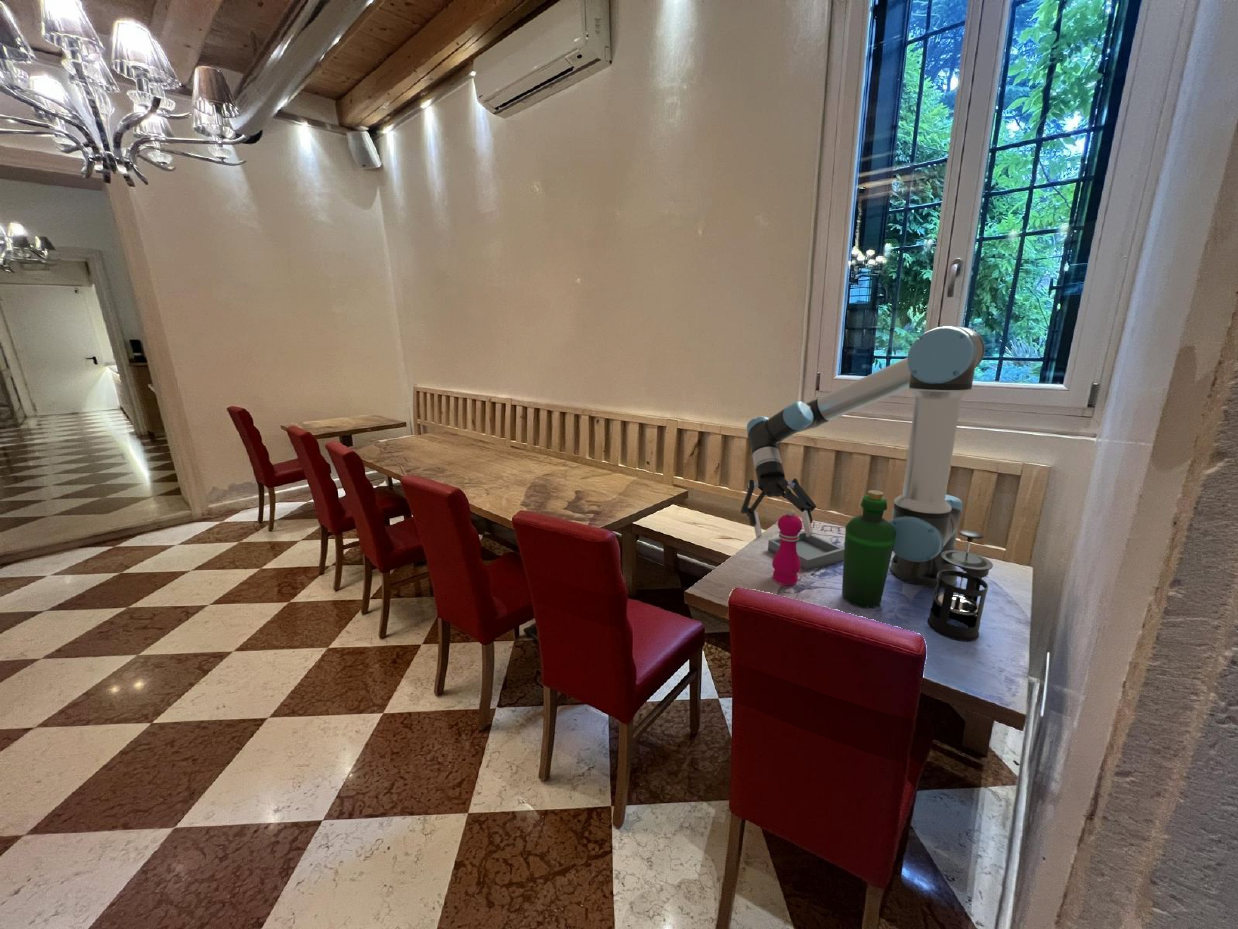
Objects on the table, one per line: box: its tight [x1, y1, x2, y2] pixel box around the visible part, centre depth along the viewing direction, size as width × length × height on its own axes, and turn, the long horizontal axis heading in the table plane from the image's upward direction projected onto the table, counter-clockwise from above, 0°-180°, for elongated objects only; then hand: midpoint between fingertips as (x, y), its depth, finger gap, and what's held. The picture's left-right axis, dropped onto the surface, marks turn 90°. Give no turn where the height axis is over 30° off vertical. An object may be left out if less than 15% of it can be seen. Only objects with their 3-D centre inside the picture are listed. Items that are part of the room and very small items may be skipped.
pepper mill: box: [771, 509, 803, 586], centre depth 121 cm, size 7×7×20 cm
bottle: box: [841, 489, 896, 609], centre depth 110 cm, size 11×11×28 cm
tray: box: [767, 530, 845, 572], centre depth 137 cm, size 15×15×4 cm
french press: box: [926, 529, 994, 642], centre depth 99 cm, size 12×9×23 cm
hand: (784, 536), depth 122 cm, fingers open, 13 cm apart
